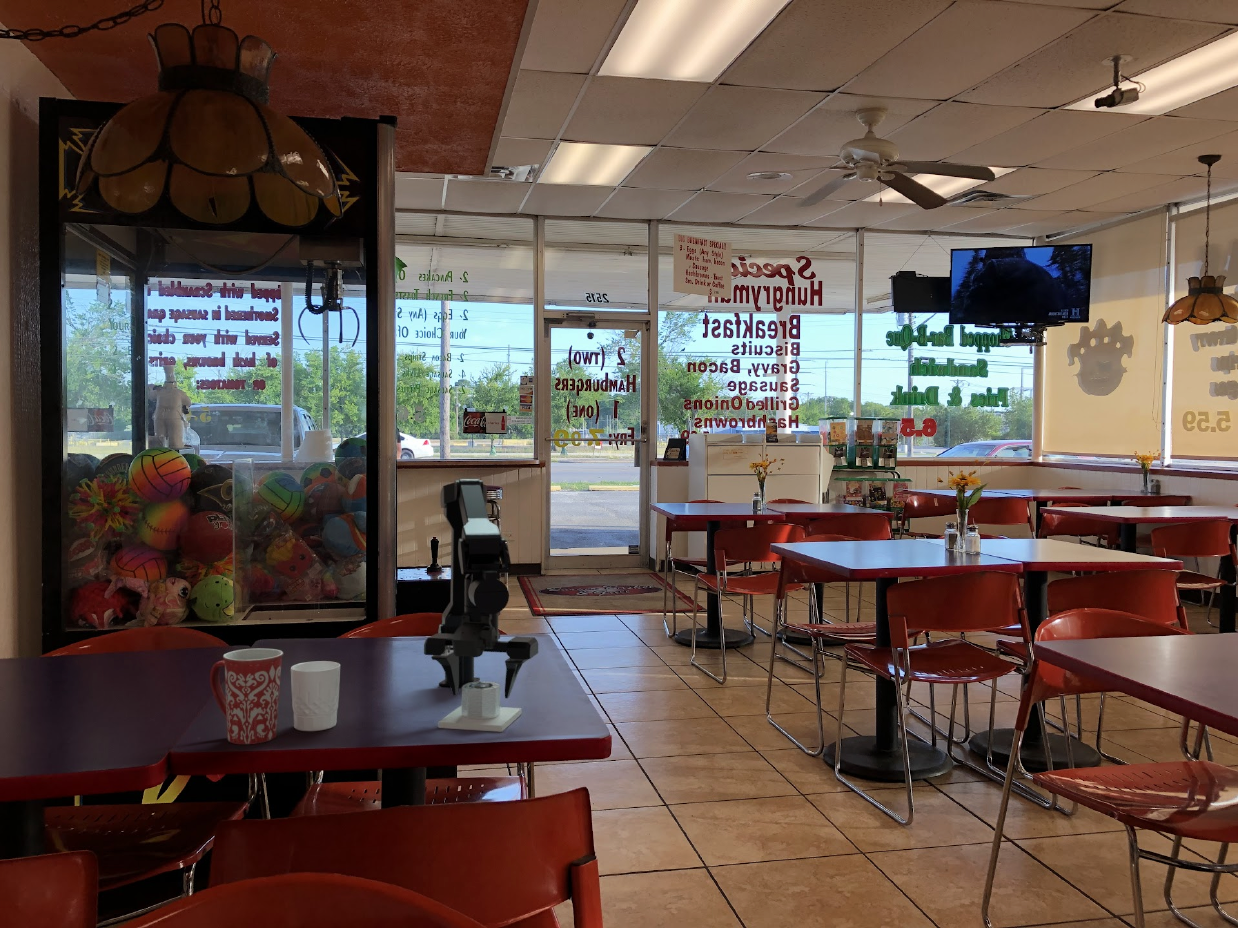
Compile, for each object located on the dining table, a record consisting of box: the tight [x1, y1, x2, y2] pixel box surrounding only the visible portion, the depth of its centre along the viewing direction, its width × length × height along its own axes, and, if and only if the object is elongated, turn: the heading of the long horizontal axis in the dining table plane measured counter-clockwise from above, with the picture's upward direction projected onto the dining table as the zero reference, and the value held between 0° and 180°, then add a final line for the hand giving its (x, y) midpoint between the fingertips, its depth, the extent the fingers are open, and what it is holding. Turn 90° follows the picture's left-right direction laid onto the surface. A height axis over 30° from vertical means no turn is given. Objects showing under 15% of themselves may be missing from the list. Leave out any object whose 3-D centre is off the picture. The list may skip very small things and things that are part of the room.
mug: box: [209, 647, 284, 745], centre depth 151 cm, size 13×9×14 cm
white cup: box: [290, 660, 341, 732], centre depth 157 cm, size 8×8×10 cm
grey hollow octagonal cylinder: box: [461, 680, 501, 720], centre depth 161 cm, size 6×6×5 cm
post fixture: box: [437, 684, 522, 733], centre depth 161 cm, size 11×11×6 cm
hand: (481, 696), depth 161 cm, fingers open, 9 cm apart
